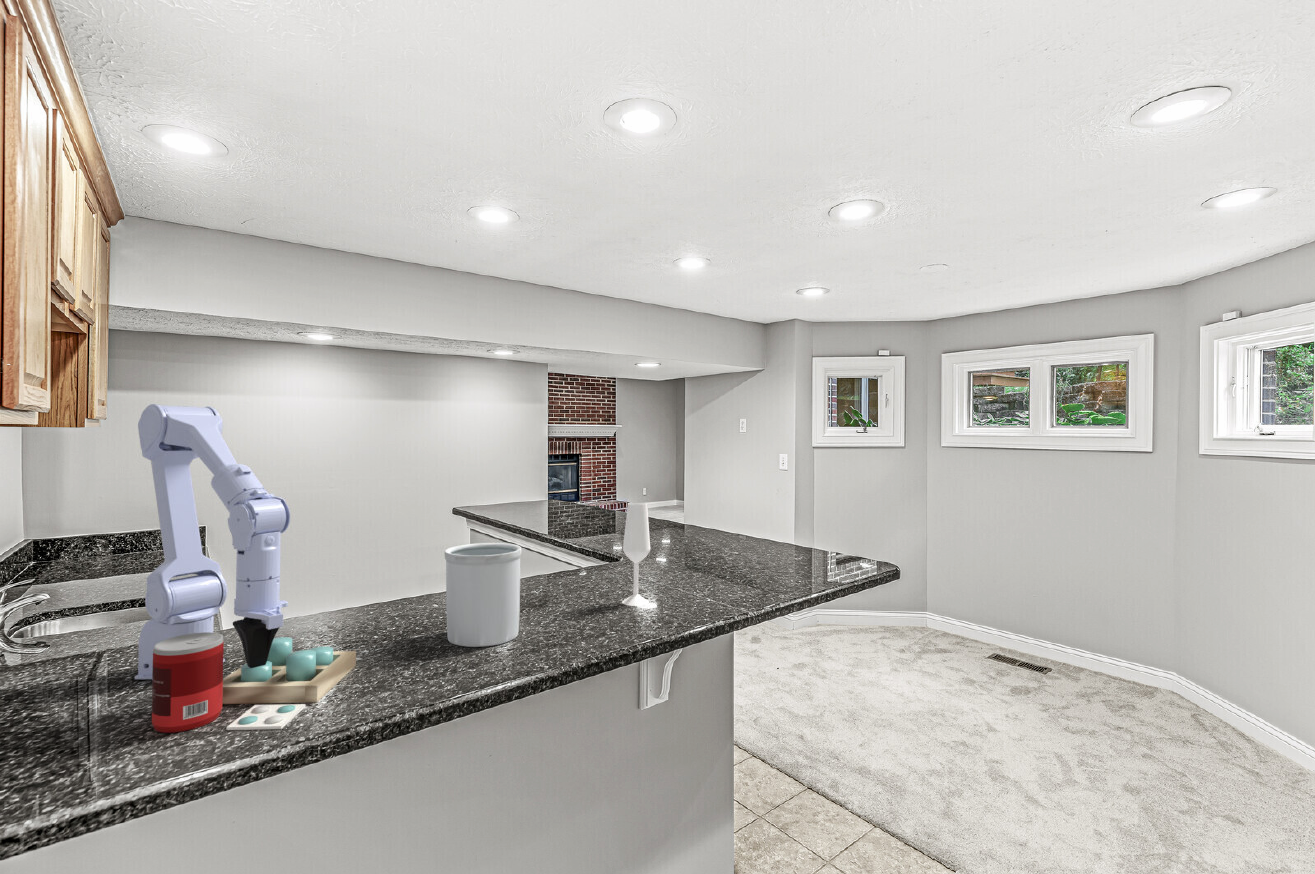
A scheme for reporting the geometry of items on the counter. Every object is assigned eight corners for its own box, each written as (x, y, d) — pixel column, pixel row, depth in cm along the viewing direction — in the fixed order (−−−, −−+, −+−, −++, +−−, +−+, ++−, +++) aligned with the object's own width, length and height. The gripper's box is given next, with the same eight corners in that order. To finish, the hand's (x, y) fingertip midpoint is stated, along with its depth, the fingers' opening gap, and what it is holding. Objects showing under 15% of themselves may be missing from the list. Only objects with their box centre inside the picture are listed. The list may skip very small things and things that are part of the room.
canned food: (234, 707, 91) (236, 632, 91) (196, 734, 83) (197, 650, 83) (180, 707, 91) (181, 631, 91) (136, 733, 83) (138, 650, 83)
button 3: (280, 682, 96) (281, 659, 96) (293, 672, 100) (293, 650, 100) (308, 681, 96) (308, 658, 96) (320, 671, 100) (320, 649, 100)
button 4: (300, 676, 102) (301, 654, 102) (312, 667, 106) (312, 646, 106) (326, 676, 102) (327, 654, 102) (336, 667, 106) (337, 646, 106)
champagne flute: (633, 607, 149) (636, 505, 149) (616, 601, 154) (618, 503, 154) (655, 602, 154) (657, 504, 154) (637, 597, 159) (638, 501, 158)
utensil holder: (426, 643, 121) (428, 551, 121) (471, 621, 135) (473, 540, 135) (494, 652, 117) (496, 557, 117) (533, 629, 131) (535, 544, 131)
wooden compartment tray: (209, 704, 93) (210, 687, 93) (264, 666, 107) (264, 651, 107) (317, 702, 94) (317, 685, 94) (355, 665, 109) (356, 650, 109)
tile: (226, 730, 85) (226, 725, 85) (254, 707, 92) (254, 703, 92) (281, 728, 85) (281, 724, 85) (305, 706, 92) (305, 702, 92)
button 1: (235, 693, 95) (235, 670, 95) (249, 683, 99) (250, 660, 99) (263, 693, 95) (263, 669, 95) (276, 682, 99) (277, 660, 99)
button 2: (258, 666, 101) (258, 645, 101) (271, 658, 105) (271, 637, 105) (284, 666, 102) (285, 644, 102) (296, 657, 106) (296, 637, 106)
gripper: (305, 580, 96) (304, 670, 96) (269, 566, 105) (268, 648, 105) (252, 588, 90) (251, 683, 90) (219, 573, 99) (218, 659, 99)
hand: (256, 665), depth 97 cm, fingers closed, pressing on button 1
